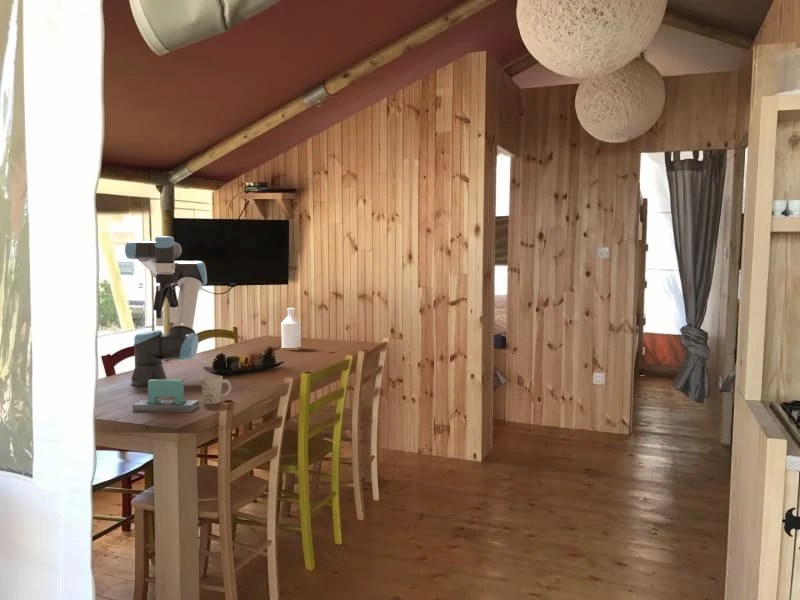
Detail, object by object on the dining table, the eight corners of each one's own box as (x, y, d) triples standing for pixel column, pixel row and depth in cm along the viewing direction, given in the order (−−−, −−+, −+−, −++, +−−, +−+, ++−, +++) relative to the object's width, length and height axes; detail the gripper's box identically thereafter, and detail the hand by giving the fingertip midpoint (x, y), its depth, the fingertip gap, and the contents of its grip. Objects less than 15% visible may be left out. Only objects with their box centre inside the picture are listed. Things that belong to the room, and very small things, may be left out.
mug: (197, 402, 255) (196, 377, 255) (225, 397, 264) (225, 373, 263) (207, 405, 250) (206, 380, 249) (236, 400, 258) (236, 375, 258)
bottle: (294, 347, 401) (294, 307, 399) (305, 349, 392) (304, 308, 390) (277, 349, 393) (277, 308, 391) (287, 351, 384) (287, 309, 382)
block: (132, 411, 241) (132, 404, 241) (142, 406, 249) (142, 399, 249) (191, 411, 240) (191, 405, 240) (198, 406, 248) (198, 400, 248)
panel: (148, 409, 243) (147, 380, 243) (151, 407, 246) (151, 379, 246) (181, 410, 243) (180, 381, 242) (184, 408, 246) (183, 379, 245)
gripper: (162, 274, 258) (163, 327, 259) (185, 272, 282) (186, 321, 284) (143, 274, 258) (144, 327, 259) (168, 272, 283) (169, 320, 284)
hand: (166, 324), depth 272 cm, fingers open, 13 cm apart
